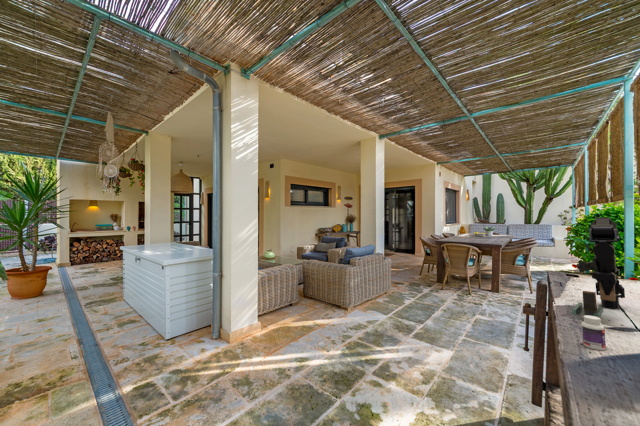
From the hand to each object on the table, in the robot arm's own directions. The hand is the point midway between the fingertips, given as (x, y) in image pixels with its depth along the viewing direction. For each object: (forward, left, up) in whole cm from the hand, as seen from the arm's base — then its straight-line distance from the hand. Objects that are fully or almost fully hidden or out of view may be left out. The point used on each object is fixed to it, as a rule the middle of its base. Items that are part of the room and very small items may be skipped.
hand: (607, 294), depth 107 cm
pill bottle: (+32, -1, -12) cm, 34 cm away
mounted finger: (-15, -7, -11) cm, 20 cm away
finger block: (0, 0, -2) cm, 2 cm away
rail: (-9, -7, -12) cm, 16 cm away
